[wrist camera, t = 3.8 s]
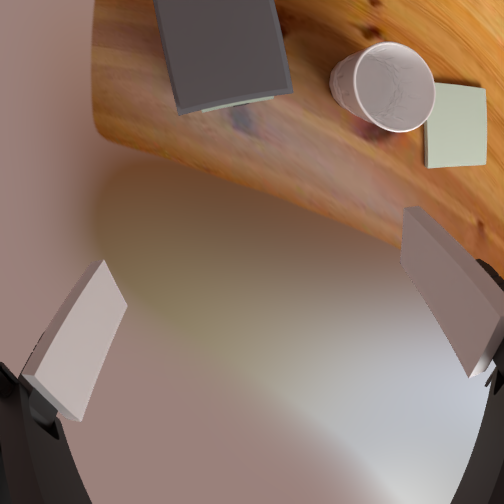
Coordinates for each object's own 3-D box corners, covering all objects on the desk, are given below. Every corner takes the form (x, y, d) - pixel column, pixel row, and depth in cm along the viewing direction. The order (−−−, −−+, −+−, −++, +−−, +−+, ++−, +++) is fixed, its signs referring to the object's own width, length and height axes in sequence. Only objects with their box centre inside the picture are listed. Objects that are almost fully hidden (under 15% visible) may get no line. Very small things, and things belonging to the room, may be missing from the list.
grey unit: (186, 25, 24) (149, -8, 13) (260, 10, 23) (266, -34, 12) (205, 111, 29) (178, 124, 18) (279, 97, 28) (296, 101, 18)
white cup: (400, 93, 27) (449, 100, 19) (354, 131, 30) (391, 150, 22) (358, 40, 24) (398, 25, 16) (308, 79, 27) (332, 75, 19)
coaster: (420, 81, 26) (423, 81, 25) (481, 88, 25) (485, 88, 24) (424, 166, 32) (427, 168, 31) (482, 163, 31) (485, 164, 30)
